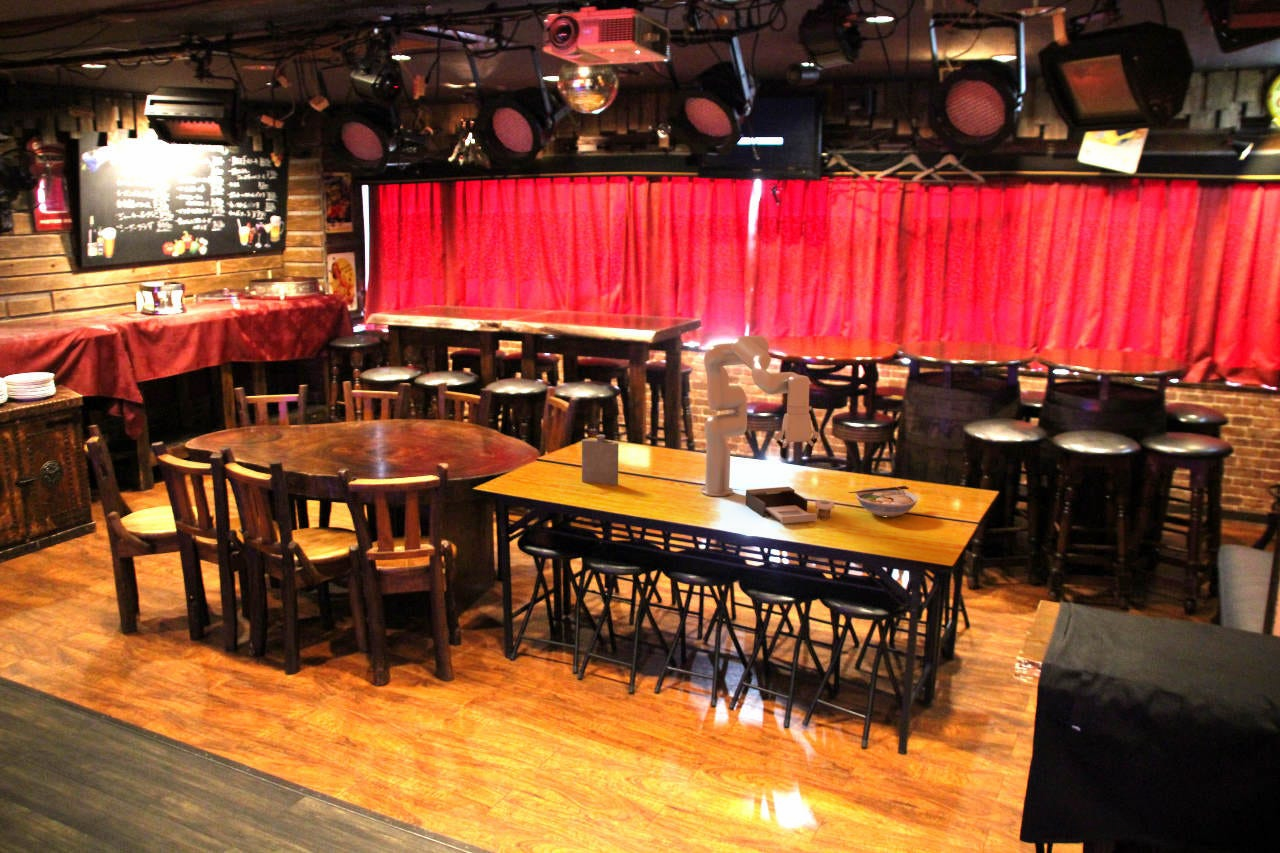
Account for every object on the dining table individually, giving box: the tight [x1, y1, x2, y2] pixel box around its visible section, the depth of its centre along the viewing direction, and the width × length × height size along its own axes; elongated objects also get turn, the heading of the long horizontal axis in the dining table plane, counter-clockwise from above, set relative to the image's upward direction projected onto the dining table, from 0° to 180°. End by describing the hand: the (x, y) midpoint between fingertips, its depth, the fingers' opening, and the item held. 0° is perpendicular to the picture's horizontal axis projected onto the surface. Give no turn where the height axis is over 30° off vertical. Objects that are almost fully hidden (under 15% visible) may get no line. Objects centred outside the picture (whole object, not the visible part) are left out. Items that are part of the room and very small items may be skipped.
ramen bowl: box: [848, 485, 919, 518], centre depth 390 cm, size 25×23×8 cm
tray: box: [765, 505, 818, 524], centre depth 384 cm, size 16×14×2 cm
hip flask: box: [581, 434, 620, 487], centre depth 426 cm, size 16×4×20 cm, turn 68°
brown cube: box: [817, 508, 832, 520], centre depth 386 cm, size 4×4×4 cm
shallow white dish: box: [814, 499, 835, 511], centre depth 385 cm, size 7×7×2 cm
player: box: [745, 486, 808, 518], centre depth 395 cm, size 16×18×6 cm
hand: (796, 457), depth 374 cm, fingers open, 9 cm apart
